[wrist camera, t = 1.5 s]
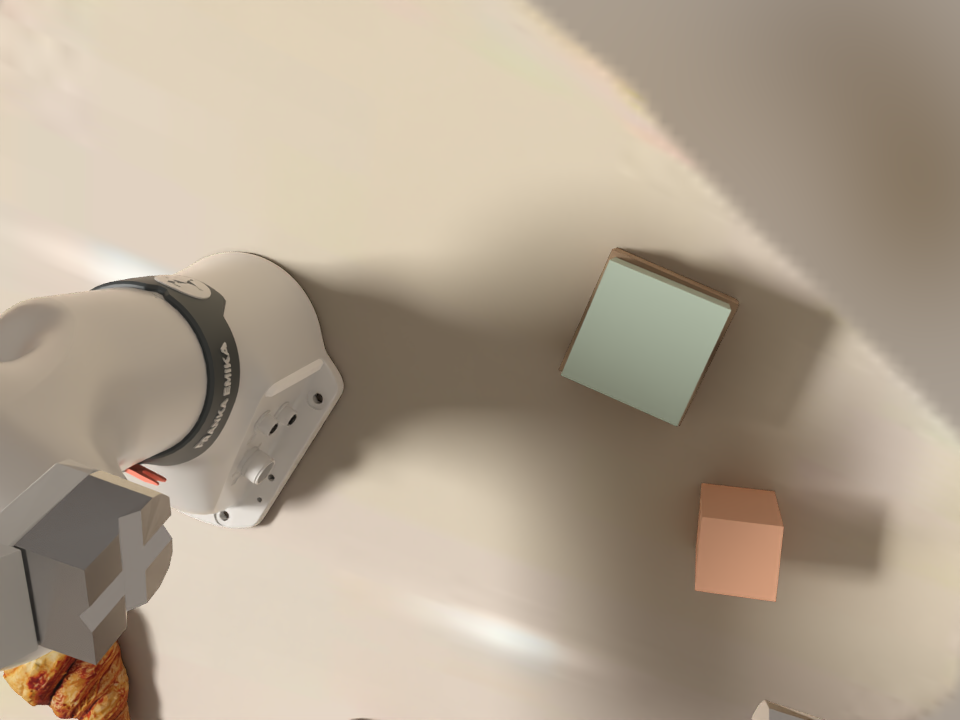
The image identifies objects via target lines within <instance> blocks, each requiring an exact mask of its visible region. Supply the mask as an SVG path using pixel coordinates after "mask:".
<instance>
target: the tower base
mask: <svg viewBox="0 0 960 720" xmlns="http://www.w3.org/2000/svg"><path fill="white" fill-rule="evenodd" d="M615 257H617V258H619V259H622V260H624V261H626V262H629V263H631V264H634V265H636V266H639V267H641V268H643V269H646V270H648V271H651V272H653V273H656V274H658V275H660V276H663V277H665V278H668V279H670V280H672V281H675V282H677V283H680V284H682V285H685V286H687V287H689V288H692V289H694V290H697V291H699V292H702V293H704V294H706V295H709V296H711V297H714V298H716V299H718V300H721V301H723V302H726V303H728V304H729V305H730V308H731V312H730V314H729V316H728V318H727V321H726V323H725V325H724V327H723V329H722V331H721V334H720V336H719V338H718V340H717V342H716V344H715V346H714V349H713V351H712V353H711V355H710V357H709V359H708V361H707V364H706V366H705V368H704V370H703V372H702V374H701V376H700V379H699V381H698V383H697V385H696V387H695V389H694V391H693V394H692V396H691V398H690V400H689V402H688V404H687V407H686V409H685V411H684V413H683V415H682V417H681V419H680V422H679V424H678V425H679V426H680V424H681V422H682V420H683V418H684V416H685V414H686V412H687V410H688V408H689V406H690V404H691V402H692V400H693V398H694V396H695V394H696V392H697V390H698V388H699V386H700V384H701V382H702V380H703V378H704V376H705V373H706V371H707V369H708V367H709V365H710V363H711V361H712V359H713V357H714V355H715V353H716V351H717V349H718V347H719V345H720V343H721V341H722V339H723V337H724V335H725V333H726V331H727V329H728V327H729V325H730V322H731V320H732V318H733V316H734V314H735V312H736V310H737V308H738V306H739V303H738V300H737V299H735V298H733V297H730V296H728V295H726V294H723V293H721V292H719V291H716V290H714V289H712V288H710V287H707V286H705V285H703V284H700V283H698V282H696V281H693V280H691V279H689V278H686V277H684V276H682V275H679V274H677V273H675V272H673V271H670V270H668V269H666V268H663V267H661V266H659V265H656V264H654V263H652V262H649V261H647V260H645V259H643V258H640V257H638V256H636V255H633V254H631V253H629V252H626V251H624V250H622V249H619V248H615V249H612V251H611V253H610V255H609V258H608V260H607V262H606V264H605V267H604V269H603V271H602V273H601V276H600V278H599V280H598V282H597V285H596V287H595V289H594V291H593V294H592V296H591V298H590V300H589V303H588V305H587V307H586V309H585V312H584V314H583V316H582V318H581V321H580V323H579V325H578V327H577V329H576V332H575V334H574V336H573V338H572V341H571V343H570V345H569V347H568V350H567V352H566V354H565V356H564V359H563V361H562V363H561V365H560V368H559V371H563V369H564V366H565V364H566V362H567V359H568V357H569V355H570V352H571V350H572V348H573V345H574V343H575V340H576V338H577V336H578V333H579V331H580V329H581V326H582V324H583V322H584V319H585V317H586V315H587V312H588V310H589V307H590V305H591V303H592V300H593V298H594V296H595V293H596V291H597V289H598V286H599V284H600V282H601V279H602V277H603V274H604V272H605V270H606V267H607V265H608V263H609V260H611V259H613V258H615Z"/></svg>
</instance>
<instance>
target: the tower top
mask: <svg viewBox="0 0 960 720" xmlns="http://www.w3.org/2000/svg"><path fill="white" fill-rule="evenodd" d="M730 312H731V308H730V305H729V304H728V303H726V302H723V301H721V300H718V299H716V298H714V297H711V296H709V295H706V294H704V293H702V292H699V291H697V290H694V289H692V288H689V287H687V286H685V285H682V284H680V283H677V282H675V281H672V280H670V279H668V278H665V277H663V276H660V275H658V274H656V273H653V272H651V271H648V270H646V269H643V268H641V267H639V266H636V265H634V264H631V263H629V262H626V261H624V260H622V259H619V258H617V257H615V258H613V259H611V260H609V263H608V265H607V267H606V270H605V272H604V274H603V277H602V279H601V282H600V284H599V286H598V289H597V291H596V293H595V296H594V298H593V300H592V303H591V305H590V307H589V310H588V312H587V315H586V317H585V319H584V322H583V324H582V326H581V329H580V331H579V333H578V336H577V338H576V340H575V343H574V345H573V348H572V350H571V352H570V355H569V357H568V359H567V362H566V364H565V366H564V369H563V371H562V373H561V376H563V377H566V378H568V379H570V380H572V381H575V382H577V383H579V384H581V385H584V386H586V387H588V388H591V389H593V390H595V391H597V392H600V393H602V394H604V395H606V396H609V397H611V398H613V399H615V400H618V401H620V402H622V403H625V404H627V405H629V406H631V407H634V408H636V409H638V410H640V411H643V412H645V413H647V414H650V415H652V416H654V417H656V418H659V419H661V420H663V421H665V422H668V423H670V424H672V425H675V426H678V424H679V422H680V419H681V417H682V415H683V413H684V411H685V409H686V407H687V404H688V402H689V400H690V398H691V396H692V394H693V391H694V389H695V387H696V385H697V383H698V381H699V379H700V376H701V374H702V372H703V370H704V368H705V366H706V364H707V361H708V359H709V357H710V355H711V353H712V351H713V349H714V346H715V344H716V342H717V340H718V338H719V336H720V334H721V331H722V329H723V327H724V325H725V323H726V321H727V318H728V316H729V314H730Z"/></svg>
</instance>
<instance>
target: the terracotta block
mask: <svg viewBox="0 0 960 720" xmlns="http://www.w3.org/2000/svg"><path fill="white" fill-rule="evenodd" d="M783 529H784V526H783V522H782V518H781V514H780V511H779V507H778V503H777V499H776V495H775V492H774V491H768V490H759V489H750V488H741V487H732V486H723V485H714V484H705V483H702V485H701V496H700V507H699V518H698V529H697V540H696V562H695V591H702V592H709V593H716V594H723V595H731V596H738V597H745V598H752V599H759V600H767V601H774V602H776V595H777V585H778V576H779V567H780V557H781V548H782V539H783Z"/></svg>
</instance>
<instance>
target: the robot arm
mask: <svg viewBox="0 0 960 720" xmlns="http://www.w3.org/2000/svg"><path fill="white" fill-rule="evenodd" d="M343 389H344V384H343V380H342V377H341V375H340V373H339V371H338V370H337V368H336V366H335V365H334V363H333V362H332V360H331V359H330V357H329V356H328V354H327V352H326V350H325V347H324V343H323V338H322V334H321V329H320V325H319V321H318V318H317V315H316V313H315V310H314V308H313V306H312V304H311V302H310V300H309V298H308V297H307V295H306V293H305V292H304V291H303V289H302V288H301V287H300V285H299V284H298V283H297V282H296V281H295V280H294V279H293V278H292V277H291V276H290V275H289V274H288V273H287V272H286V271H285V270H283V269H282V268H281V267H279V266H278V265H276V264H274V263H273V262H271V261H269V260H267V259H265V258H262V257H260V256H257V255H253V254H249V253H243V252H223V253H217V254H213V255H210V256H207V257H205V258H203V259H200V260H199V261H197V262H195V263H193V264H192V265H190V266H189V267H187V268H185V269H184V270H182V271H180V272H177V273H175V274H173V275H158V276H146V277H138V278H130V279H125V280H119V281H114V282H109V283H105V284H102V285H100V286H97V287H95V288H93V289H91V290H89V291H84V292H76V293H69V294H61V295H53V296H45V297H36V298H31V299H27V300H25V301H22V302H19V303H17V304H15V305H13V306H12V307H10V308H9V309H7V310H6V311H5V312H3V313H2V314H1V315H0V671H4V670H8V669H12V668H15V667H17V666H20V665H23V664H26V663H28V662H31V661H34V660H36V659H38V658H40V657H42V656H43V655H45V654H47V653H49V652H51V651H53V650H54V651H56V652H59V653H62V654H65V655H68V656H71V657H74V658H77V659H79V660H82V661H85V662H88V663H91V664H94V665H97V664H98V662H99V661H100V660H101V659H102V657H103V656H104V655H105V654H106V653H107V651H108V650H109V649H110V648H111V647H112V645H113V644H114V643H115V642H116V640H117V639H118V638H119V637H120V636H121V634H122V633H123V632H124V631H125V629H126V628H127V611H129V610H131V609H134V608H136V607H139V606H141V605H143V604H146V603H147V602H148V601H149V600H150V599H151V597H152V596H153V595H154V593H155V592H156V591H157V590H158V588H159V587H160V585H161V583H162V581H163V579H164V577H165V575H166V573H167V571H168V569H169V566H170V561H171V556H172V552H173V549H172V537H171V536H170V534H169V533H168V531H167V530H166V528H165V527H164V526H163V524H164V523H165V521H166V520H167V519H168V518H169V517H170V516H171V508H173V509H175V510H177V511H179V512H181V513H183V514H185V515H187V516H189V517H192V518H194V519H197V520H199V521H202V522H205V523H208V524H211V525H215V526H219V527H224V528H234V529H240V528H250V527H253V526H255V525H258V524H259V523H260V522H261V521H262V520H263V519H264V517H265V516H266V514H267V513H268V511H269V509H270V508H271V506H272V505H273V503H274V501H275V500H276V498H277V497H278V495H279V494H280V492H281V490H282V489H283V487H284V486H285V484H286V482H287V481H288V479H289V478H290V476H291V474H292V473H293V471H294V470H295V468H296V466H297V465H298V463H299V462H300V460H301V459H302V457H303V455H304V454H305V452H306V451H307V449H308V447H309V446H310V444H311V443H312V441H313V439H314V438H315V436H316V435H317V433H318V431H319V430H320V428H321V427H322V425H323V424H324V422H325V420H326V419H327V417H328V416H329V414H330V412H331V411H332V409H333V408H334V406H335V404H336V403H337V401H338V400H339V398H340V396H341V395H342V393H343ZM317 393H319V394H321V395H322V397H323V401H322V402H319V401H318V400H317V397H316V395H317ZM224 511H226V512H227V513H228V514H229V518H227V517H226V516H225V515H224ZM752 720H825V719H821V718H818V717H815V716H812V715H809V714H806V713H803V712H800V711H797V710H794V709H791V708H788V707H785V706H782V705H779V704H776V703H773V702H770V701H767V700H764V701H763V702H761V703H760V704H759V705H758V707H757V708H756V710H755V712H754V714H753V715H752Z"/></svg>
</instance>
